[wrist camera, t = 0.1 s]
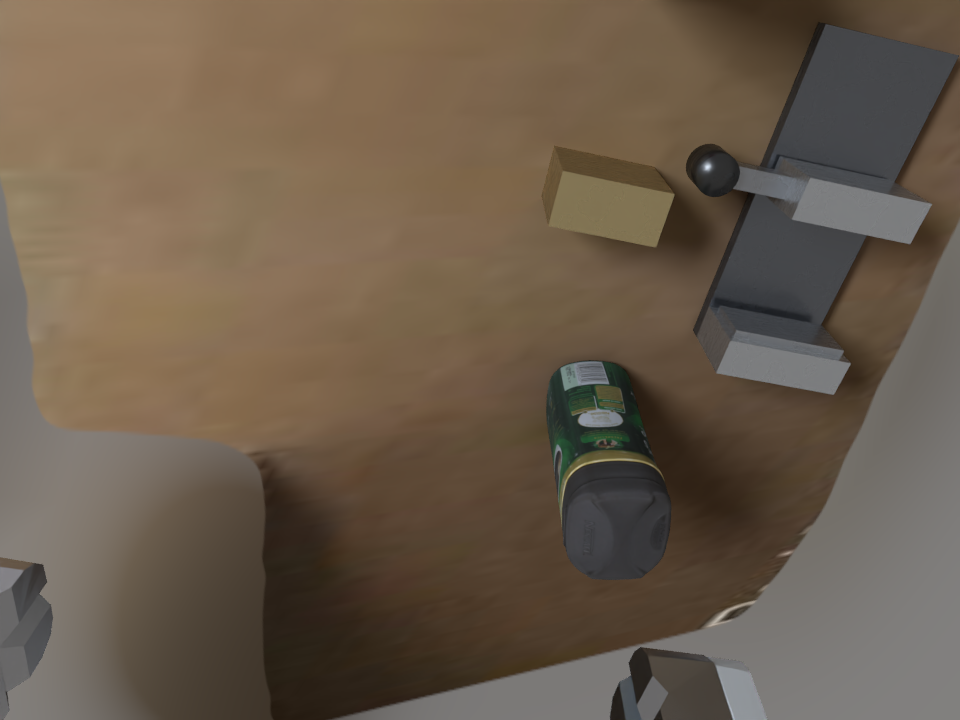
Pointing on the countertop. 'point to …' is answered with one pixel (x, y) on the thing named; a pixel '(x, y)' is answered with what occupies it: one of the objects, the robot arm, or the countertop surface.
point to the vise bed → (804, 246)
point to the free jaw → (815, 193)
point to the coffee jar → (605, 473)
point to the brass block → (605, 197)
